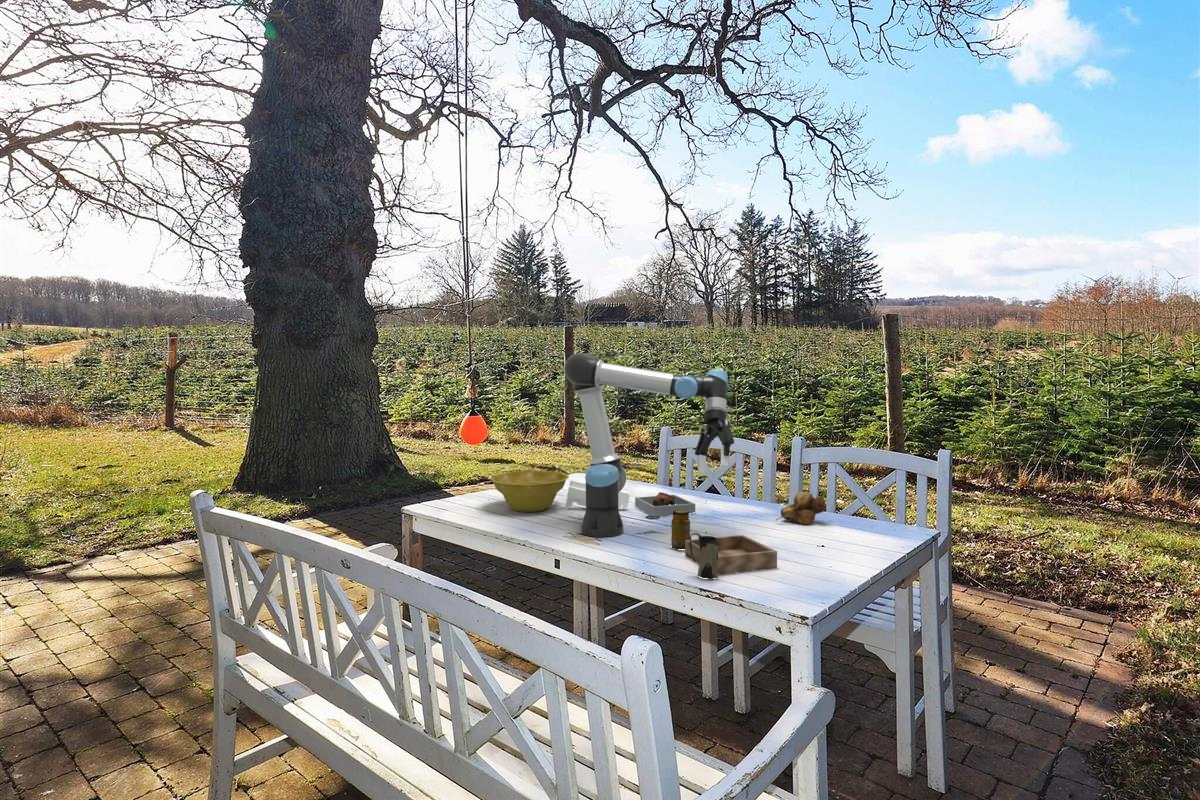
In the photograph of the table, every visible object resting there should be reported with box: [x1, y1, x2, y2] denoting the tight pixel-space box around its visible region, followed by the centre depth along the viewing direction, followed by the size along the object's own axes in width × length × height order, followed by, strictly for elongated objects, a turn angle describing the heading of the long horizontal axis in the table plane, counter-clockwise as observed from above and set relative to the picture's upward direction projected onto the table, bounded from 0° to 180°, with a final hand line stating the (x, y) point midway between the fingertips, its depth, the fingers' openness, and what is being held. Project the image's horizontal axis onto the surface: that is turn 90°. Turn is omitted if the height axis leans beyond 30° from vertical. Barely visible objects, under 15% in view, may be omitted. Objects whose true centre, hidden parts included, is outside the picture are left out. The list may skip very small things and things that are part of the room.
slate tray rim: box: [634, 494, 696, 517], centre depth 275 cm, size 18×20×4 cm
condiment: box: [667, 510, 691, 553], centre depth 219 cm, size 7×8×12 cm
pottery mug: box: [652, 491, 675, 506], centre depth 275 cm, size 12×10×8 cm
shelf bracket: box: [564, 479, 631, 510], centre depth 277 cm, size 6×25×13 cm, turn 84°
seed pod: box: [774, 491, 827, 525], centre depth 252 cm, size 13×16×15 cm
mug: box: [690, 532, 719, 579], centre depth 190 cm, size 8×6×12 cm
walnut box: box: [684, 534, 778, 575], centre depth 204 cm, size 20×20×5 cm
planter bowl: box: [490, 469, 570, 513], centre depth 280 cm, size 32×32×13 cm
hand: (712, 469), depth 232 cm, fingers open, 13 cm apart
